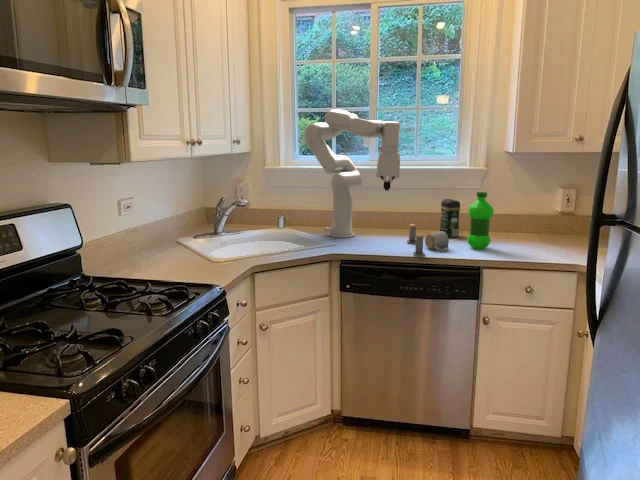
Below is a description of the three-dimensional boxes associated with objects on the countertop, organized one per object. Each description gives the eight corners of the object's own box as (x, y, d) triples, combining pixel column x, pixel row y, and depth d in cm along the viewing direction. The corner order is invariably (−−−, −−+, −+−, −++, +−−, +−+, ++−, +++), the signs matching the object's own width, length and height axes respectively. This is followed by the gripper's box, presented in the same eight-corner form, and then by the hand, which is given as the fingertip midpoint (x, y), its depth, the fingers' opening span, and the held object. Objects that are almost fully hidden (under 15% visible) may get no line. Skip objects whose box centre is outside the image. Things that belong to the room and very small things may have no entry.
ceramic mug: (423, 247, 223) (424, 231, 221) (438, 246, 226) (439, 229, 224) (437, 253, 213) (438, 236, 211) (453, 251, 216) (454, 234, 214)
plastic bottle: (461, 246, 225) (465, 191, 219) (482, 245, 227) (486, 190, 222) (473, 251, 215) (477, 194, 210) (495, 250, 218) (499, 193, 213)
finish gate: (414, 256, 207) (415, 236, 206) (406, 241, 235) (407, 223, 233) (424, 256, 207) (425, 236, 205) (416, 241, 235) (417, 223, 233)
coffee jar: (437, 234, 251) (438, 198, 247) (451, 234, 253) (453, 197, 249) (446, 238, 242) (448, 200, 238) (461, 237, 244) (463, 200, 240)
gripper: (373, 149, 220) (370, 190, 225) (407, 151, 219) (403, 192, 224) (372, 148, 227) (370, 188, 232) (405, 150, 226) (402, 189, 231)
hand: (386, 190), depth 228 cm, fingers closed
